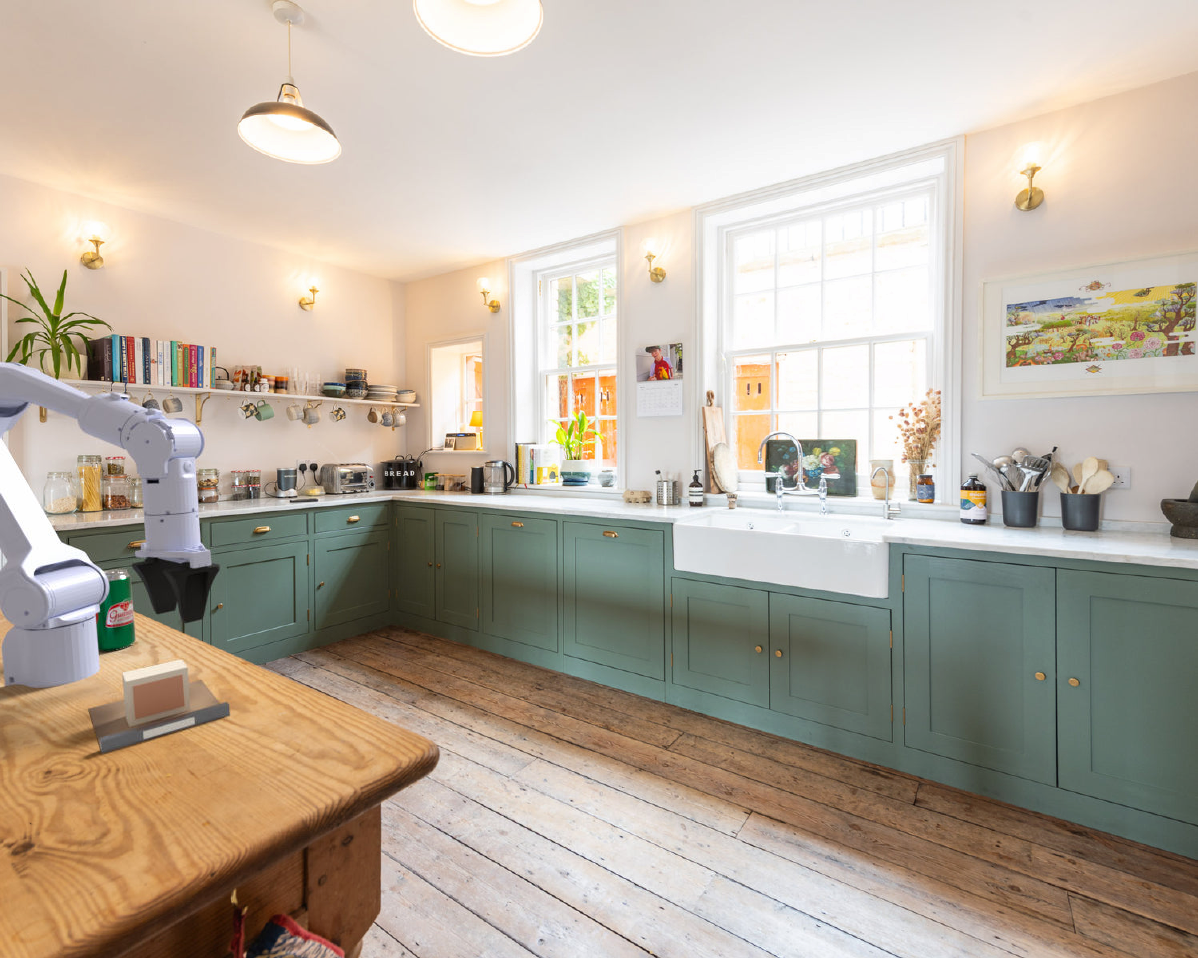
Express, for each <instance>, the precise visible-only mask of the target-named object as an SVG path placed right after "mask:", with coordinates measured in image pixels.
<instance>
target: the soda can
mask: <svg viewBox="0 0 1198 958" xmlns="http://www.w3.org/2000/svg"><path fill="white" fill-rule="evenodd" d="M103 572H104V573H105V574H106V576H107V578H108V581H109V593H108V596H107V598H106V599H105V600H104V602H102V603H101V604H100V605H99V606H100V612H98V613H96V614H95V616H96V628H97V641H98V652H102V651H107V652H113V651H112V650H115V651H117V650H116V649H120V648H123V647H126V648H128V647H127V646H129V645H131V644H132V645H133V644H134V643H135V641H136V628H135V625H136V624H135V613H134V602H133V587H132V576H131V575H130V574H129V573H128V569H126V568H116V569H113V568H112V569H108V570H107V569H106V570H103ZM132 645H131V646H132ZM129 647H130V646H129ZM123 649H124V648H123ZM120 650H121V649H120Z"/></svg>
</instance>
